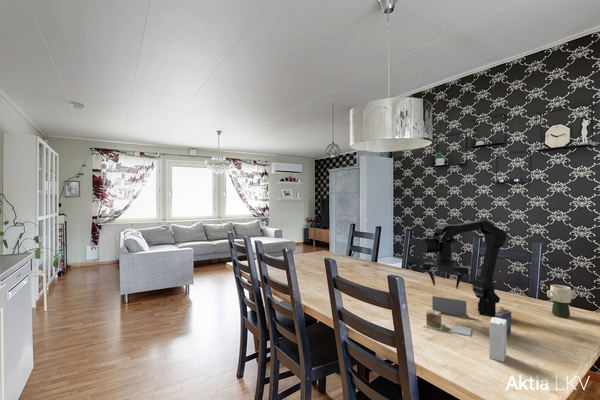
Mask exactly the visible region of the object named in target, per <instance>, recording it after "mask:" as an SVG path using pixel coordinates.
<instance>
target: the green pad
mask: <svg viewBox="0 0 600 400" xmlns="http://www.w3.org/2000/svg"><path fill="white" fill-rule="evenodd" d="M444 326H445V323H444V322H443V323H442V322H441V326H440V328H437V327H432V326H427V325H426V321H425V322H424V324H423V327H424V328H428V329H433V330H437V331H443V330H444Z"/></svg>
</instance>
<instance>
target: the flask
mask: <svg viewBox="0 0 600 400" xmlns="http://www.w3.org/2000/svg"><path fill="white" fill-rule="evenodd" d="M498 308H499V309H500V310H499V311H496V314H495V318H500V319H505V320H507V337H508V336H510V335H512V311H511V310H510V309H509V310H508V309H505V308H504V307H502V306H500V307H498Z"/></svg>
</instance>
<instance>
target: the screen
mask: <svg viewBox="0 0 600 400" xmlns="http://www.w3.org/2000/svg"><path fill="white" fill-rule="evenodd" d="M431 299H432V300H431V301H432V309H431V310H433V311H439V312H441V314H446V315H447V314H448V315H452V316H459V317H460V318H463V319H467V316H468V313H467V300H465V299H459V298H452V297H451V298H450V297H444V296H437V295H432V298H431Z"/></svg>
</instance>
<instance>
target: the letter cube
mask: <svg viewBox="0 0 600 400" xmlns="http://www.w3.org/2000/svg"><path fill="white" fill-rule="evenodd" d="M425 317H426V318H425V319H426V320H425V322H426V325H427V326H432V327H437V328H440V326H441V323H442V313H441V312H439V311H433V310H432V309H427V311H426V316H425Z"/></svg>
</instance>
